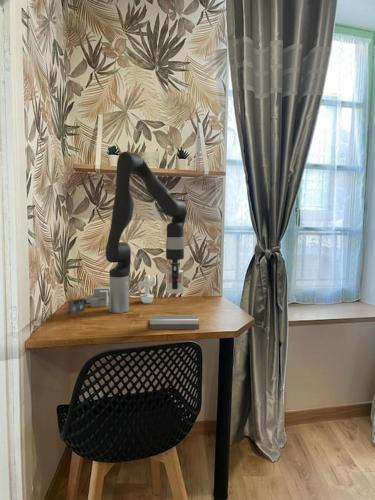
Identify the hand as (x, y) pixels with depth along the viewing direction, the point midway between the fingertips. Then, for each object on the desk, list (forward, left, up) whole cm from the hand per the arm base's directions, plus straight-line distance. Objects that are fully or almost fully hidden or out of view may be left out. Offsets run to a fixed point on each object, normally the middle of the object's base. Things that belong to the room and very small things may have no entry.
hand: (174, 287), depth 132 cm
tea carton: (0, 0, -2) cm, 2 cm away
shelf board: (0, -1, -16) cm, 16 cm away
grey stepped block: (-41, +34, -16) cm, 55 cm away
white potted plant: (-15, +37, -16) cm, 43 cm away
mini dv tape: (-47, +18, -16) cm, 53 cm away
